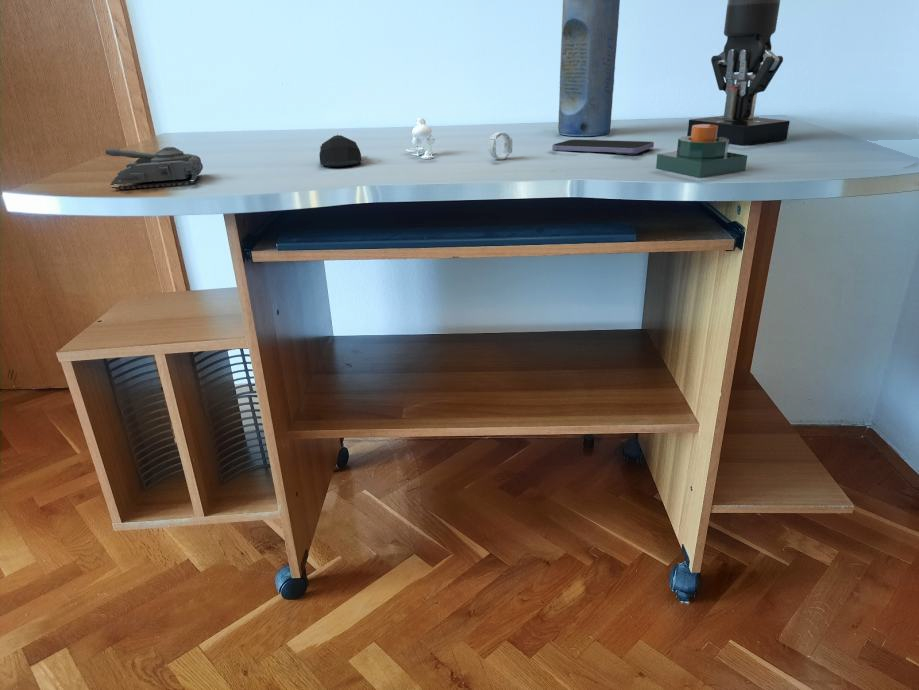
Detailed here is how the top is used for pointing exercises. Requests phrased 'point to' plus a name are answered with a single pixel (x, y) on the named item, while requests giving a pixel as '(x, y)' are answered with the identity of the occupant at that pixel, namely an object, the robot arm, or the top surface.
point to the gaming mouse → (339, 152)
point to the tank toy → (157, 168)
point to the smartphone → (604, 146)
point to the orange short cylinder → (704, 132)
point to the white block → (735, 104)
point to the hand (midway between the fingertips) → (736, 119)
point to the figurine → (422, 138)
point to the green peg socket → (701, 158)
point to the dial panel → (746, 129)
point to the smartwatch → (506, 145)
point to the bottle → (587, 66)
